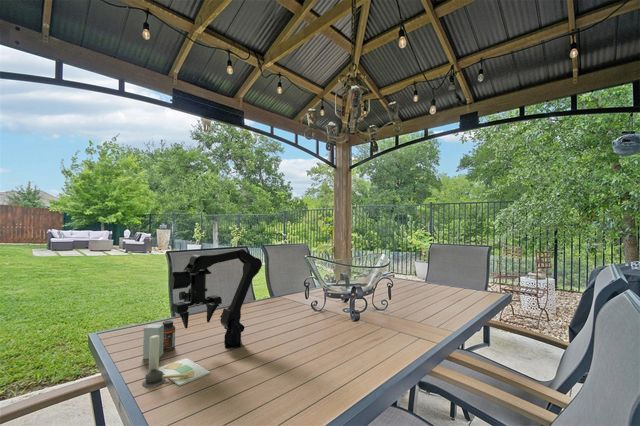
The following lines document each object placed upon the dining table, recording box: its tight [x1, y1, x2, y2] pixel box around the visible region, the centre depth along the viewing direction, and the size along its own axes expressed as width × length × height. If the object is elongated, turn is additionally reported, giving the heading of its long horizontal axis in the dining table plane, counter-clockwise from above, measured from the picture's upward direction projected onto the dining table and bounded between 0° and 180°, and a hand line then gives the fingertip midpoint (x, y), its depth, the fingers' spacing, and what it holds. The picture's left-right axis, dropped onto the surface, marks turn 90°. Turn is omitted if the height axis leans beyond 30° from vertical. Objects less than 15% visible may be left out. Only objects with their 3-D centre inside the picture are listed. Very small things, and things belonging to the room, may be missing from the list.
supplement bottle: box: [162, 319, 176, 352], centre depth 125 cm, size 6×6×11 cm
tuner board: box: [141, 357, 211, 388], centre depth 103 cm, size 18×17×1 cm
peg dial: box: [144, 335, 190, 384], centre depth 101 cm, size 11×15×12 cm
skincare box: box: [142, 323, 164, 360], centre depth 117 cm, size 6×4×12 cm
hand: (197, 325), depth 119 cm, fingers open, 9 cm apart
